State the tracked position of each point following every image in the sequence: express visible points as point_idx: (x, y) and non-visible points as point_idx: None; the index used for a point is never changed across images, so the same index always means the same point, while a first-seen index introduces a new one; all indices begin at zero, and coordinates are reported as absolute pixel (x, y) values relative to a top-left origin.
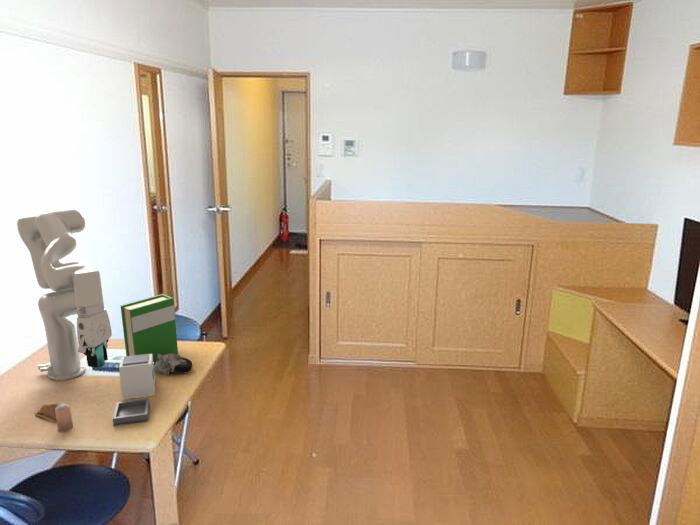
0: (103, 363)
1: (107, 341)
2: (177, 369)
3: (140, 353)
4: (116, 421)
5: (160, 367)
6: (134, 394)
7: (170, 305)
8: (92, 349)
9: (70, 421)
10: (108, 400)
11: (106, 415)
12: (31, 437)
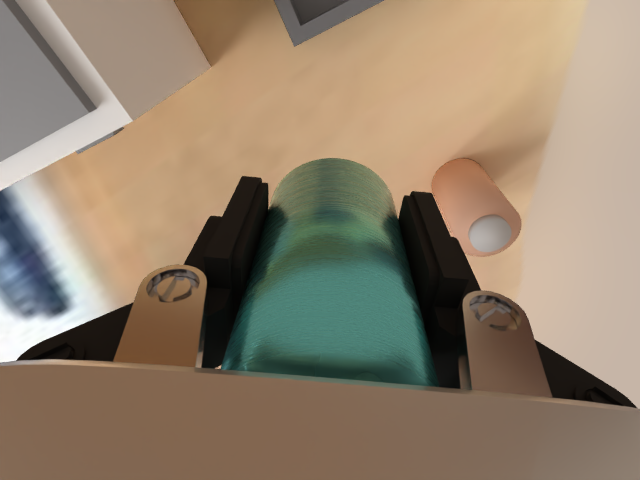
0: (339, 168)
1: (73, 337)
2: None
3: None
4: None
5: None
6: (168, 8)
7: None
8: (537, 390)
9: (472, 171)
10: (237, 132)
11: (357, 65)
12: (512, 253)
